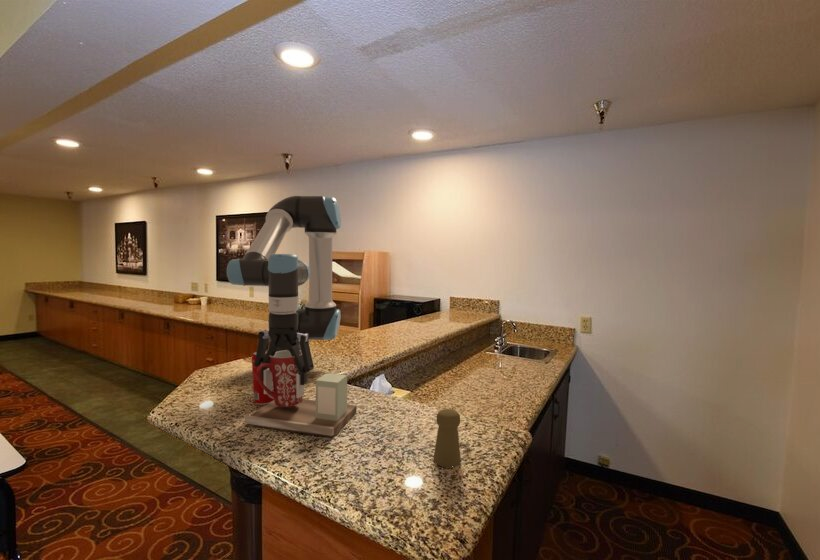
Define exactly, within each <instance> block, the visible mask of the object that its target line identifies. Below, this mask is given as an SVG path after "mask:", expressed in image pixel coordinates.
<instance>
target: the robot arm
mask: <svg viewBox="0 0 820 560" xmlns="http://www.w3.org/2000/svg"><path fill="white" fill-rule="evenodd" d="M341 219H342V218H341V210H340V206H339V202H338V201H337V199H336V198H335V197H333V196H326V195H325V196H324V195H311V196H310V195H290V196H288V197H285V198H284V199H281V200H280V201H278V202H277V203H274V205H273V206H271V207H270V208H269V210H268V211H267V213H266V215H265V221H264V224H263V226H262V227H261V229H260V230H259V232H257V235H256V237H255V238H254V240H253V241H252V243H251V245H250V246H249V248H248V249H247V251H246V253H245V254H244V255H243V257H242V258H236V259H230V260H229V262H228V263H227V267H226V277H227V280H228V282H229V283H230V284H232V285H235V286H236V285H238V286H243V287H246V286H262V287H263V286H264V287H265V286H267V287H268V311H269V313H268V320H267V323H268V330H266V329H264V330H261V331H259V332H258V343H257V344H258V345H257V349H256V352H257V353H256V358H255V363H254V366H255V367H258V366H259V365H260V364H262V363H271V359H270V355H271V356H274V355H275V353H276V352H278V351H283V350H288V351H290V353H291V355H292V357H293V356H294V357H295V358H294V362H295V364H296V366H297V368H298V371H299V373H297V374H296V398H300V397H301V396H305V385H306V384H307V382H308V372H309V373H310V372H311V371H312V370H314V368H315V366H314V362H313V356H312V353H311V347H310V343H309V340H310V341H311V340H313V341H314V340H315V341H317V340H318V341H329V340H330V341H331V340H334V339H336V337H337V335H338V332H339V329H340V323H341V315H342V314H341V312H342V311H341V309H339V308H338V309H337V304H336V303H335V302H334V301H333V238H334V237H335V236H336V235H337V230H339V229H341V227H342V220H341ZM292 228H294V229H296V228H299V229H302V228H303V229H304V234H305V235H306V236H307V237H308V263H306V262H305V261H304V260H303V261H302V260H300V259H299V256H298V255H297V254H293V253H277V252H278V249H279V247H280V246H281V244H282V241H283V240H284V237H285V235H286V234H287V233H289V232H290V231H291V230H292ZM306 282H308V288H309V289H308V290H309V291H308V295H309V296H308V298H309V299H308V302H307V303H306V304H305V305H304V308H302V306H301V305H300V304H299V287H300V286H303V285H304V284H305V283H306ZM267 347H268V348H267ZM266 350H268V351H267V353H266ZM300 350H301V352H302V356H299V355H301V353H300ZM265 353H266V356H265ZM261 379H262V381H264V385H265V386H266V387H267V388H268V389H269V390H270V391H272V373H271V371H270V369H269V368H268V367H267V366H265V367H263V368H262V369H261ZM264 394H267V392H266V391H265V390H264Z"/></svg>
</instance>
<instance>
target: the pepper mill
mask: <svg viewBox="0 0 820 560" xmlns="http://www.w3.org/2000/svg"><path fill="white" fill-rule="evenodd" d="M436 424H437V425H438V428H437V433H436V441H435V448H434V453H433V459H434V460H433V462H434V461H435V462H436V463H437V464H438V466H439V465H441V466H440V467H442V466H445V467H444V468H448V467H450V468H453V467H452V466H456V465H458V466H460V464H461V463H460V462H462V459H461V449H460V439H459V430H458V427H459V426H460V424H461V415H460V412H458V411H457V410H454V409H451V408H443V409H441V410H439V411H438V413H437V414H436ZM435 462H434V463H435ZM436 463H435V464H436ZM437 464H436V465H437ZM456 467H457V466H456Z"/></svg>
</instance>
